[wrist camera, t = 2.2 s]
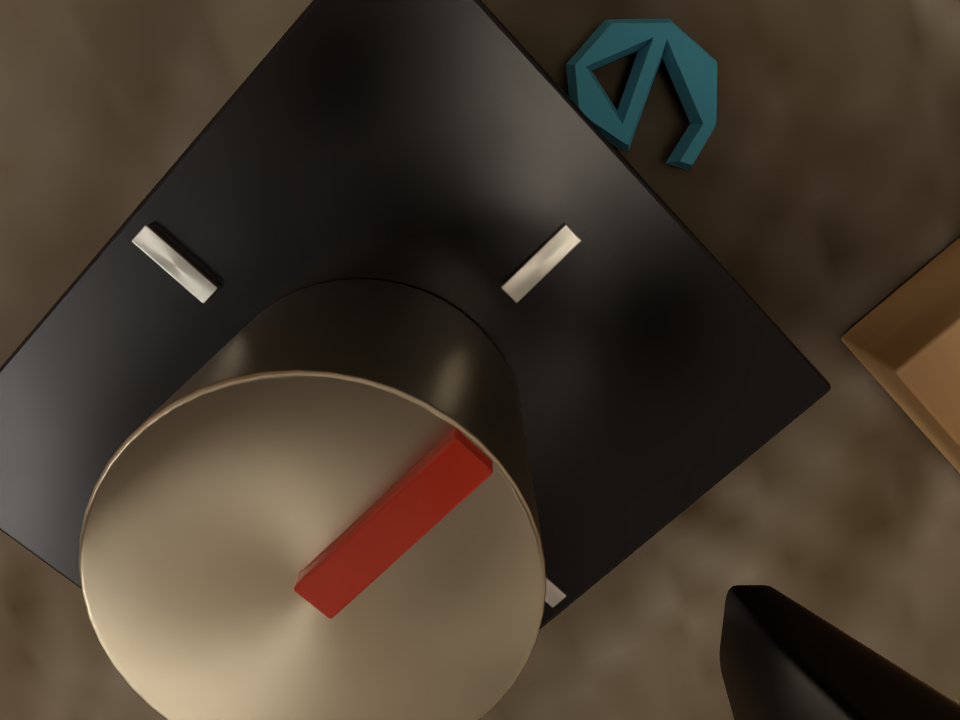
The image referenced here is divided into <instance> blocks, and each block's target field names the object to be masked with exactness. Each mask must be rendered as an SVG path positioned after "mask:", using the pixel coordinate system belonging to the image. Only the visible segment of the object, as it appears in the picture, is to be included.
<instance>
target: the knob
mask: <svg viewBox="0 0 960 720" xmlns="http://www.w3.org/2000/svg"><path fill="white" fill-rule="evenodd" d="M79 573H80V582H81V590H82V595H83V599H84V603H85V606H86V610H87V614H88V617H89V620H90V622H91V625H92V627H93V629H94V632H95V634H96V636H97V639H98V641H99V643H100V645H101V646H102V648H103V650H104V651H105V653H106V655H107V656H108V658H109V660H110V661H111V663H112V665H113V666H114V667H115V669H116V670H117V671H118V672H119V674H120V675H121V676H122V678H123V679H124V680H125V681H126V683H127V684H128V685H129V686H130V687H131V688H132V689H133V690H134V691H135V692H136V693H137V694H138V695H139V696H140V697H141V698H142V699H143V700H144V701H145V702H146V703H147V704H148V705H149V706H150V707H151V708H152V709H154V710H155V711H156V712H157V713H159V714H160V715H161V716H162V717H164V718H165V719H166V720H480V719H481V718H482V717H483V716H484V715H485V714H486V713H487V712H488V711H489V710H490V709H492V708H493V707H494V706H495V705H496V704H497V703H498V701H499V700H500V699H501V698H502V697H503V695H504V694H505V693H506V692H507V691H508V689H509V688H510V687H511V686H512V685H513V683H514V681H515V680H516V678H517V677H518V675H519V673H520V672H521V670H522V668H523V667H524V665H525V664H526V662H527V660H528V658H529V655H530V653H531V651H532V648H533V646H534V644H535V641H536V639H537V636H538V632H539V629H540V625H541V621H542V617H543V614H544V605H545V596H546V567H545V556H544V550H543V544H542V537H541V531H540V525H539V518H538V512H537V506H536V499H535V493H534V487H533V480H532V474H531V467H530V461H529V455H528V448H527V442H526V436H525V429H524V423H523V417H522V411H521V406H520V401H519V395H518V392H517V389H516V386H515V383H514V380H513V377H512V375H511V373H510V371H509V369H508V367H507V365H506V363H505V361H504V359H503V357H502V356H501V354H500V353H499V352H498V350H497V349H496V347H495V346H494V344H493V343H492V341H491V340H490V339H489V338H488V337H487V336H486V335H485V334H484V333H483V331H482V330H481V329H480V328H479V327H478V326H477V325H476V324H475V323H473V322H472V321H471V320H470V319H469V318H468V317H466V316H465V315H464V314H463V313H462V312H460V311H459V310H457V309H456V308H454V307H452V306H451V305H449V304H448V303H446V302H445V301H443V300H441V299H439V298H437V297H435V296H433V295H431V294H428V293H426V292H424V291H422V290H419V289H416V288H412V287H409V286H406V285H403V284H399V283H393V282H388V281H383V280H371V279H348V280H336V281H331V282H326V283H321V284H316V285H313V286H310V287H307V288H304V289H301V290H299V291H296V292H294V293H292V294H290V295H288V296H286V297H284V298H282V299H280V300H278V301H276V302H275V303H273V304H272V305H271V306H269V307H268V308H266V309H265V310H263V311H262V312H260V313H259V314H258V315H257V316H256V317H255V318H254V319H253V320H252V321H251V322H250V323H249V324H248V325H246V326H245V327H244V328H243V329H242V330H241V331H240V332H239V333H238V334H237V335H236V336H235V337H234V338H233V339H232V340H230V341H229V342H228V343H227V344H226V345H225V346H224V347H223V348H222V349H221V350H220V351H219V352H218V353H217V354H216V355H215V356H213V357H212V358H211V359H210V360H209V361H208V362H207V363H206V364H205V365H204V366H203V367H202V368H201V369H200V370H199V371H198V372H196V373H195V374H194V375H193V376H192V377H191V378H190V379H189V380H188V381H187V382H186V383H185V384H184V385H183V386H182V387H181V388H179V389H178V390H177V391H176V392H175V393H174V394H173V395H172V396H171V397H170V398H169V399H168V400H167V401H166V402H165V403H164V404H162V405H161V406H160V407H159V408H158V409H157V410H156V411H155V412H154V413H153V414H152V415H151V416H150V417H149V418H148V419H147V420H145V421H144V422H143V423H142V424H141V425H140V426H139V427H138V428H137V429H136V430H135V431H134V432H133V433H132V434H131V435H130V436H128V437H127V438H126V440H125V441H124V442H123V443H122V445H121V446H120V447H119V448H118V450H117V451H116V452H115V453H114V455H113V456H112V457H111V458H110V460H109V461H108V463H107V464H106V466H105V468H104V470H103V471H102V473H101V475H100V477H99V479H98V480H97V482H96V484H95V486H94V489H93V491H92V494H91V497H90V499H89V502H88V505H87V507H86V510H85V515H84V520H83V525H82V530H81V535H80V546H79Z"/></svg>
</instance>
